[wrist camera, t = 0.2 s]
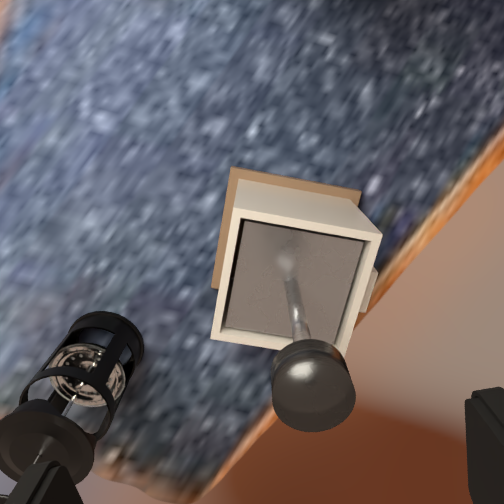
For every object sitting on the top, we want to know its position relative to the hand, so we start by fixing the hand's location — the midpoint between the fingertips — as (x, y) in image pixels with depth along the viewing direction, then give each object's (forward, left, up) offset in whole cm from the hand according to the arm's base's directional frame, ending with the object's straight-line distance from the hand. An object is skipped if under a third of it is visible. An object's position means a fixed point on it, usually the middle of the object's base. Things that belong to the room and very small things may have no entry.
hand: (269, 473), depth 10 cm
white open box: (+6, +4, -37) cm, 38 cm away
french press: (+24, -15, -37) cm, 47 cm away
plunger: (+6, +4, -25) cm, 26 cm away
